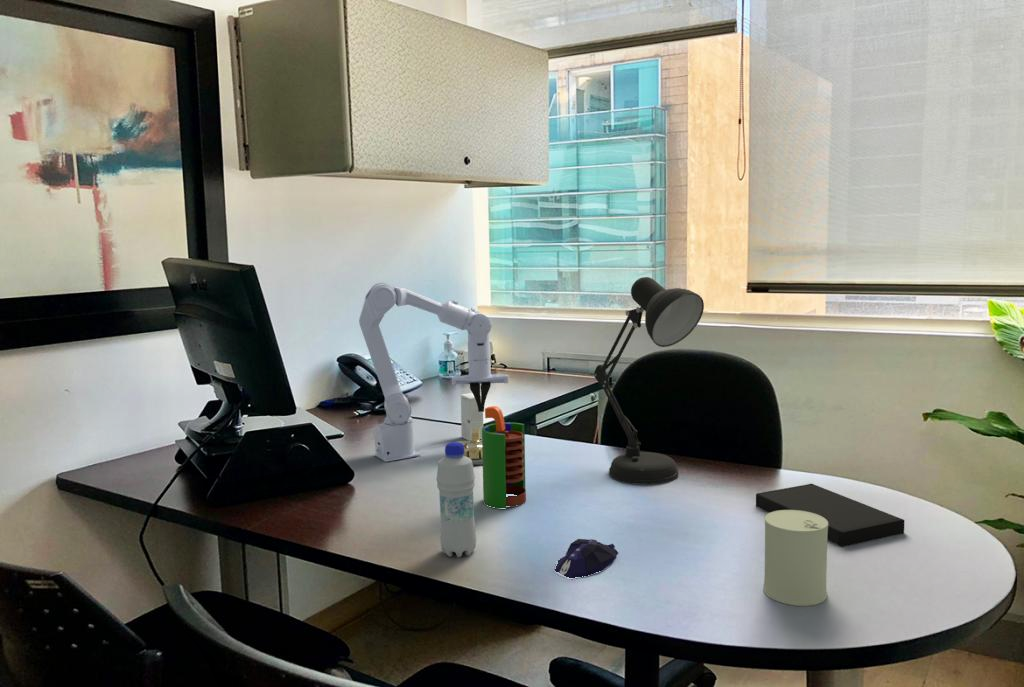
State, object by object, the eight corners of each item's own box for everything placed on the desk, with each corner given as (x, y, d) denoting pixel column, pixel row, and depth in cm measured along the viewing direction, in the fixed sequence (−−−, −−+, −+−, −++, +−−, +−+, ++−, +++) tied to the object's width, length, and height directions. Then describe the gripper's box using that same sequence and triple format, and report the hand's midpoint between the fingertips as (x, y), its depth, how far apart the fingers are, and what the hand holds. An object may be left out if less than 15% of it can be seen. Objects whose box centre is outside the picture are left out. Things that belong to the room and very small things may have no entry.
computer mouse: (534, 570, 134) (534, 548, 133) (589, 544, 145) (589, 522, 144) (578, 586, 128) (577, 562, 127) (632, 557, 138) (632, 535, 138)
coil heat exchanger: (521, 510, 162) (518, 413, 159) (478, 508, 164) (474, 413, 161) (530, 493, 172) (527, 402, 169) (489, 492, 174) (486, 402, 171)
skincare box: (460, 437, 221) (458, 394, 220) (475, 434, 224) (473, 392, 222) (470, 442, 216) (468, 398, 214) (485, 439, 218) (483, 395, 216)
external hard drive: (841, 548, 139) (842, 532, 138) (755, 507, 160) (755, 493, 160) (903, 535, 144) (904, 519, 143) (812, 497, 165) (812, 483, 165)
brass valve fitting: (465, 461, 192) (464, 444, 192) (443, 450, 203) (442, 433, 203) (505, 453, 198) (504, 437, 197) (481, 443, 209) (481, 427, 208)
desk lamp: (703, 494, 168) (703, 279, 161) (580, 489, 174) (576, 281, 167) (704, 461, 191) (704, 272, 185) (596, 457, 197) (592, 274, 191)
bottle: (458, 542, 146) (453, 435, 144) (485, 550, 142) (481, 440, 139) (431, 554, 141) (426, 443, 139) (459, 563, 137) (454, 449, 134)
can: (803, 612, 116) (804, 533, 114) (750, 590, 123) (751, 515, 122) (839, 594, 121) (841, 518, 120) (787, 574, 129) (788, 502, 127)
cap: (463, 469, 191) (463, 455, 191) (440, 456, 203) (440, 443, 202) (510, 460, 198) (510, 446, 197) (486, 448, 209) (485, 435, 208)
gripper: (507, 356, 210) (509, 406, 212) (452, 357, 210) (454, 408, 212) (507, 360, 203) (509, 412, 205) (450, 362, 203) (452, 414, 205)
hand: (481, 411), depth 208 cm, fingers closed
